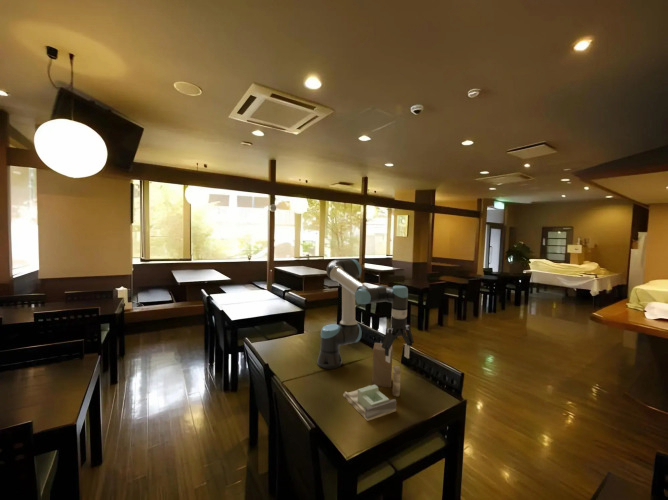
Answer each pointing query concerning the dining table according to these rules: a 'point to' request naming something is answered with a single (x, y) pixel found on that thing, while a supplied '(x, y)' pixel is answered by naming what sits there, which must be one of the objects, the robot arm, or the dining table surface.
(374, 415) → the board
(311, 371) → the dining table surface
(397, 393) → the dowel
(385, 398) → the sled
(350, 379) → the dining table surface
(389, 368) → the wooden block
